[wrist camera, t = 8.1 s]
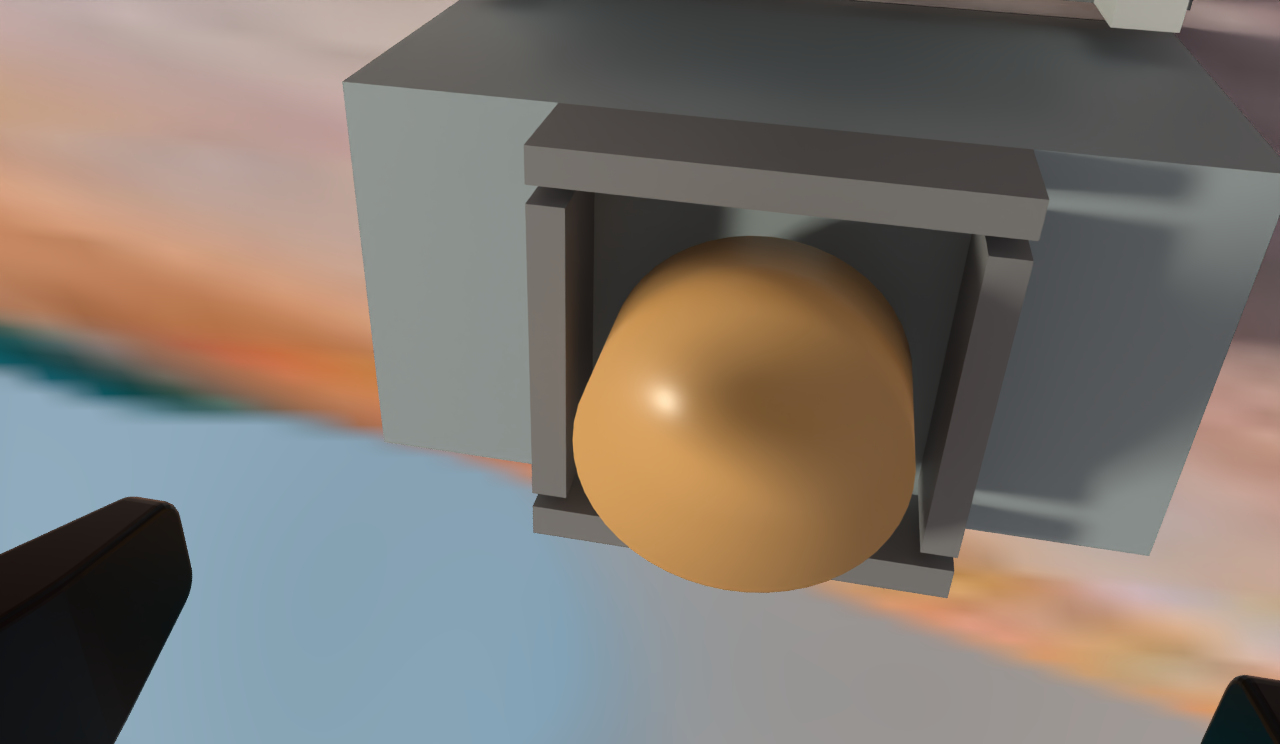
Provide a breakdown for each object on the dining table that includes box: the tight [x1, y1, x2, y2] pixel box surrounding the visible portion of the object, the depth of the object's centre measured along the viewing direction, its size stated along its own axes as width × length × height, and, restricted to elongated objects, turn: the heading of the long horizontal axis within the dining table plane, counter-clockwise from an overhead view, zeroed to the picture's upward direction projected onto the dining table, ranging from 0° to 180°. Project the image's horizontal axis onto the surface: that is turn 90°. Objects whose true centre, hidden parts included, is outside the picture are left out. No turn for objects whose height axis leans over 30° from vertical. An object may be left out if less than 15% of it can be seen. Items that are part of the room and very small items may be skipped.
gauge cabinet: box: [342, 0, 1280, 598], centre depth 17 cm, size 12×6×9 cm, turn 88°
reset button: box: [573, 236, 916, 593], centre depth 13 cm, size 4×4×2 cm
